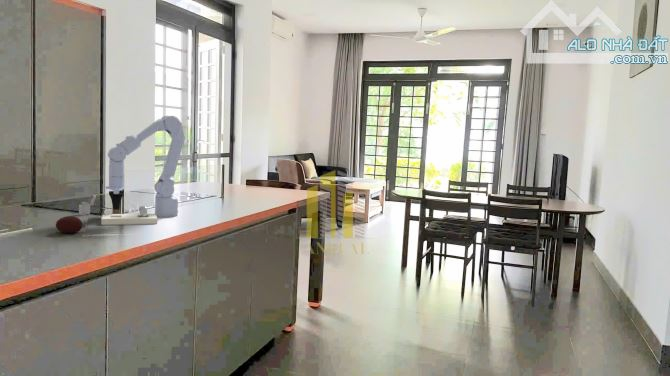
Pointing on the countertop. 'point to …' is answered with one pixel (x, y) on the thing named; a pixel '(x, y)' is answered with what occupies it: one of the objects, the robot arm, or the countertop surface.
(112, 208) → the walnut pin
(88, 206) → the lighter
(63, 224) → the potato
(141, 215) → the steel pin
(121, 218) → the hole block
